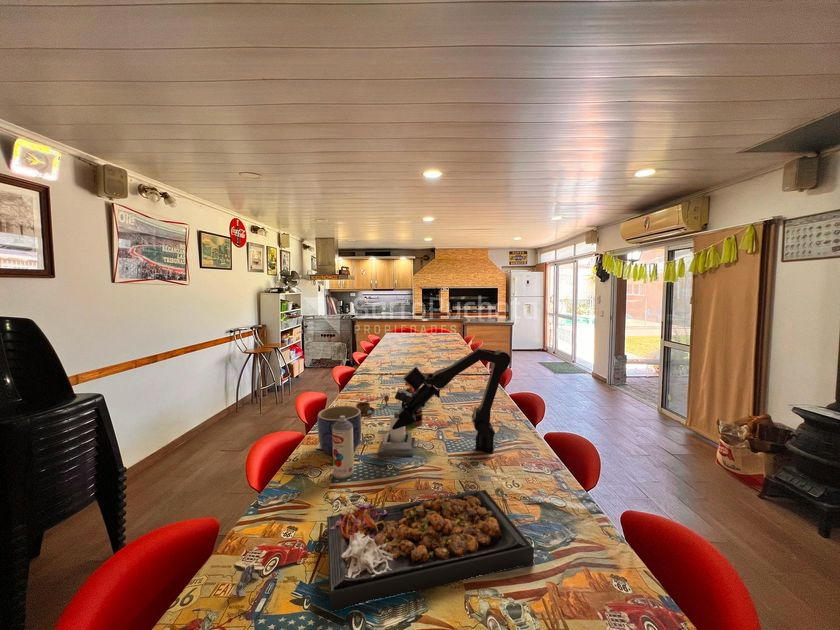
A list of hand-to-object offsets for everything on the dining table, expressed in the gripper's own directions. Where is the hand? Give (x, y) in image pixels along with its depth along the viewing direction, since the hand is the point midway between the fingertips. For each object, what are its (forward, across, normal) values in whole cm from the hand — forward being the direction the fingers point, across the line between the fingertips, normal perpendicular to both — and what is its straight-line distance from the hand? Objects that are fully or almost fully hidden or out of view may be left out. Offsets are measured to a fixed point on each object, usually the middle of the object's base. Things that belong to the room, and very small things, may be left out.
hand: (393, 424), depth 140 cm
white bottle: (+5, 0, +7) cm, 8 cm away
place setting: (+19, -42, -4) cm, 46 cm away
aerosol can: (+18, +20, -4) cm, 27 cm away
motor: (+3, -26, +11) cm, 28 cm away
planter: (+22, +2, -8) cm, 23 cm away
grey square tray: (+6, 0, +8) cm, 10 cm away
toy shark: (+24, +62, -10) cm, 68 cm away
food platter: (-2, +54, +16) cm, 56 cm away
